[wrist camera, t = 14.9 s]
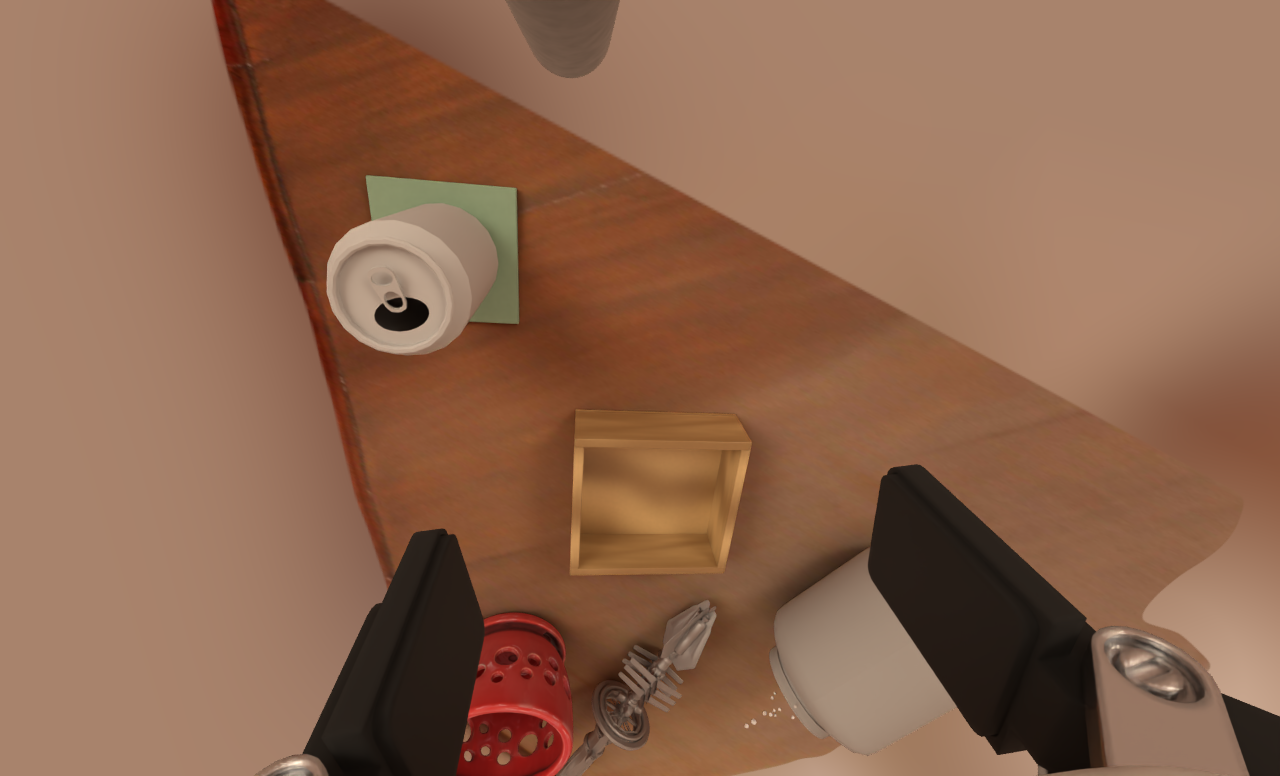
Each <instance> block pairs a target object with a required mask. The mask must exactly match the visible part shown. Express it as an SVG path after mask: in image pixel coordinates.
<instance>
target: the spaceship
mask: <svg viewBox="0 0 1280 776" xmlns="http://www.w3.org/2000/svg"><path fill="white" fill-rule="evenodd" d="M709 606H710V603H709V601H708V600H705V601H703V602H702V603H700V604H698V605H694V606H692V607H690V608H689V609H687V610H685V611H684V612H682V613H680V614H679V615H677V616H675V617H674V618H672V619H670V620H669V621H668V622H667V626H666V630H665V635H664V639H663V644H664V646H663V650H662V651H661V650H660V651H659V652H658V656H655V655H653V654H652V653H650V652H648V651H646V650H644V649H643V648H641V647H639V646H637V645H635V646H634V647H633V649H635V650H636V651H638V652H639V653H641V654H643V655H644V656H646V657H647V658H649V659H650V660H652V663H650V662H648V661H646V660H645V659H643V658H641V657H639V656H637V655H636V654H634V653H632V652H629V653H628V656H630V657H631V658H632V659H631V660H630V661H629V660H627V659H623V661H622V662H623V663H624V664H626V666H625V667H624V669H625V670H626V671H627V672H628V673H629V674H630V675H631V676H632V677H633V678H634V679H635V680H636V681H637V682H638V684H637V685H635V684H634V683H633V682H632V681H631V680H630V679H629V678H628V677H627V676H626V675H624V674H623V673H622V672H620V673H619V674H618V675H619V676H620V678H621V679H622V680H623V681H624V682H625V683H626V684H627V685H628V686H629V687H630V688H631V689H629V688H628V687H627V686H626V685H624V684H622V683H620V682H618V681H614V680H606V681H603V682H601V683H599V684H598V685H597V686H596V687H595V689H594V691H593V695H592V710H593V714H594V717H595V720H596V722H597V723H596V726H595V730H594V731H592V732H589V733H588V734H586V736H585V738H584V743H583V744H582V745H581V746H580V747H579V748H578V749H577V750H576V751H575V752H574V754H573V755H572V756H571V757H570V758H569V759H568V761H567V762H566V764H565V765H564V766H563V768H562V769H561V770H560V771H559V772H558V773H557V775H556V776H581V775H582V774H583V773H584V772H585V771H586V769H588V768H589V767H590V765H591V764H592V763H593V761H594V760H596V759H597V758H598V757H600V756H602V754H603V752H604V749H605V746H607V745H609V744H611V743H613V744H615V745H616V746H618V747H620V748H622V749H625V750H637V749H640V748H642V747H643V746H644V745H645V744H646V742H647V740H648V736H649V729H650V727H649V720H648V716H647V713H646V710H645V708H644V706H643V705H644V701H645V702H646V703H647V702H648V703H650V704H652V705H654V706H656V707H657V708H659V709H661V710H663V711H665V712H668V711H669V710H670V709H669V708H667V707H666V706H664V705H663V704H661V703H660V702H658V701H656V700H655V699H653V698H652V697H650V694H651V695H654V696H656V697H658V698H660V699H661V700H663V701H665V702H667V703H669V704H671V705H672V706H674V704H675V703H676V702H675V701H673V700H672V699H670V698H669V697H670V696H671V695H673V696H675V697H676V698H678V699H680V698H681V696H682V695H681V694H679V693H678V692H676V689H677V687H676V686H675V685H674V684H673V683H672V682H671V681H670V680H669V679H668V678H667V677H666V676H665V673H666V672H667V673H668V674H669V675H670V676H671V677H672V678H673V679H675V680H676V681H677V682H678V683H679V684H682V683H683V680H682V679H681V678H680V677H679V676H678V675H677V674H676V673H675V672H674V671H673V670H672V669H671V668H670V667H669V665H670V664H672V663H673V664H674V666H675V668H676V670H678V671H679V670H687V669H695V666H696V664H697V662H698V660H699V658H700V655H701V653H702V651H703V649H704V646H705V644H706V642H707V640H708V638H709V635H710V633H711V628H712V625H713V623H714V621H715V618H716V613H715V612H714V611H715V609H716V606H714V607H712V608H711V609H710V608H709ZM638 662H639V663H638ZM641 664H642V665H644V666H645V667H647V669H645V668H644V667H643V666H642V665H641ZM630 667H631V668H632V669H634V670H635V671H637V672H638V673H640V674H642V677H640V676H639V675H638V674H637V673H636V672H635V671H634V670H632V669H631V668H630ZM660 680H662V681H664V682H665V683H666V684H667V685H668V686H669V687H668V686H667V685H665V684H664V683H662V682H661V681H660ZM656 688H658V689H659V690H660V691H662V692H663V693H664V694H665V695H664V694H662V693H661V692H659V691H658V690H656ZM599 695H600V696H599ZM609 698H613V699H614V700H615V699H616V700H618V701H620V702H621V703H620V704H619V703H618V701H617V702H616V700H615V702H616V704H615V703H614V702H613V703H614V705H613V704H612V703H610V702H608V701H607V699H609ZM613 699H612V701H613ZM598 701H599V702H598ZM617 703H618V704H617ZM605 704H606V707H605ZM598 705H599V706H598ZM607 705H608V706H609V707H610V708H612V709H613V710H614V711H612V713H611V712H608V710H607ZM630 715H631V717H632V719H631V718H630V717H629V716H630ZM626 720H627V721H628V722H630V723H631V724H632V725H633V731H631V730H630V728H629V726H628V728H629V729H628V728H627V729H628V731H627V730H626V729H625V727H624V729H625V731H624V730H623V729H622V728H620V727H621V725H622V724H624V722H625V725H626V724H627V721H626ZM627 725H628V724H627ZM627 725H626V727H627ZM623 726H624V725H623ZM620 729H621V730H622V731H621V730H620ZM629 730H630V731H629ZM628 741H629V742H628ZM630 741H631V742H630ZM632 741H633V742H632Z"/></svg>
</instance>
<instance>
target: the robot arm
mask: <svg viewBox="0 0 1280 776" xmlns="http://www.w3.org/2000/svg"><path fill="white" fill-rule="evenodd" d="M868 571H869V575H870V577H871V580H872V581H873V583H874V584H875V586H876V587H877V589H878V590H879V592H880V593H881V595H882V596H883V598H884V599H885V601H886V602H887V604H888V605H889V607H890V608H891V610H892V611H893V613H894V614H895V616H896V617H897V619H898V620H899V622H900V623H901V624H902V626H903V627H904V629H905V630H906V632H907V633H908V635H909V636H910V638H911V639H912V641H913V642H914V644H915V645H916V647H917V648H918V650H919V651H920V653H921V654H922V656H923V657H924V659H925V660H926V662H927V663H928V665H929V666H930V668H931V669H932V670H933V672H934V673H935V675H936V676H937V678H938V679H939V681H940V682H941V684H942V685H943V687H944V688H945V690H946V691H947V693H948V694H949V696H950V697H951V699H952V700H953V702H954V703H955V705H956V706H957V708H958V709H959V711H960V712H961V713H962V715H963V717H964V718H965V719H966V721H967V722H968V724H969V725H970V727H971V728H972V729H973V731H974V732H976V733H977V734H978V735H979V736H981V737H982V736H985V737H986V739H987V740H988V742H989V743H990V745H991V746H992V747H993V749H994V750H995V752H996V753H997V755H1001V754H1006V753H1013V752H1018V751H1024V750H1027V751H1028V752H1029V754H1030V755H1031V756H1032V757H1033V759H1034V760H1035V762H1036V763H1037V764H1038V776H1280V716H1277V715H1274V714H1272V713H1269V712H1267V711H1265V710H1262V709H1260V708H1257V707H1255V706H1252V705H1250V704H1247V703H1245V702H1242V701H1240V700H1237V699H1235V698H1232V697H1229V696H1227V695H1225V694H1222V693H1221V692H1220V690H1219V688H1218V686H1217V684H1216V682H1215V681H1214V679H1213V677H1212V676H1211V675H1210V674H1209V673H1208V672H1207V670H1206V669H1205V668H1204V667H1203V666H1202V665H1201V664H1200V663H1199V662H1198V661H1196V660H1195V659H1194V658H1192V657H1191V656H1190V655H1189V654H1187V653H1186V652H1185V651H1183V650H1182V649H1180V648H1178V647H1177V646H1175V645H1173V644H1171V643H1170V642H1168V641H1166V640H1164V639H1162V638H1160V637H1157V636H1155V635H1153V634H1150V633H1148V632H1145V631H1142V630H1138V629H1134V628H1130V627H1123V626H1109V627H1105V628H1101V629H1099V630H1098V631H1097V632H1096V631H1095V630H1094V629H1093V628H1092V627H1091V626H1090V625H1089V624H1087V623H1086V622H1085V621H1086V619H1087V618H1086V617H1085V616H1084V615H1083V614H1082V613H1081V612H1079V611H1078V610H1077V609H1076V608H1075V607H1074V606H1073V605H1072V604H1071V603H1070V602H1069V601H1068V600H1067V599H1065V598H1064V597H1063V596H1062V595H1061V594H1060V593H1059V592H1058V591H1057V590H1056V589H1055V588H1054V587H1052V586H1051V585H1050V584H1049V583H1048V582H1047V581H1046V580H1045V579H1044V578H1043V577H1042V576H1041V575H1039V574H1038V573H1037V572H1036V571H1035V570H1034V569H1033V568H1032V567H1031V566H1030V565H1029V564H1028V563H1027V562H1025V561H1024V560H1023V559H1022V558H1021V557H1020V556H1019V555H1018V554H1017V553H1016V552H1015V551H1014V550H1012V549H1011V548H1010V547H1009V546H1008V545H1007V544H1006V543H1005V542H1004V541H1003V540H1002V539H1001V538H999V537H998V536H997V535H996V534H995V533H994V532H993V531H992V530H991V529H990V528H989V527H988V526H986V525H985V524H984V523H983V522H982V521H981V520H980V519H979V518H978V517H977V516H976V515H975V514H974V513H972V512H971V511H970V510H969V509H968V508H967V507H966V506H965V505H964V504H963V503H962V502H961V501H959V500H958V499H957V498H956V497H955V496H954V495H953V494H952V493H951V492H950V491H949V490H948V489H946V488H945V487H944V486H943V485H942V484H941V483H940V482H939V481H938V480H937V479H936V478H935V477H933V476H932V475H931V474H930V473H929V472H928V471H927V470H926V469H925V468H924V467H922V466H921V465H917V464H915V465H908V466H901V467H893V468H891V469H890V470H889V471H888V474H887V475H885V476H883V477H882V479H881V484H880V490H879V497H878V503H877V509H876V515H875V521H874V528H873V534H872V540H871V546H870V552H869V559H868ZM484 636H485V626H484V620H483V617H482V613H481V610H480V607H479V604H478V601H477V598H476V595H475V592H474V589H473V586H472V583H471V580H470V577H469V574H468V571H467V568H466V565H465V562H464V559H463V556H462V553H461V550H460V547H459V544H458V540H457V538H456V536H455V535H454V534H451V535H448V534H447V531H446V530H445V529H435V530H428V531H421V532H416V533H414V534H413V536H412V537H411V540H410V542H409V544H408V546H407V548H406V551H405V553H404V555H403V557H402V560H401V562H400V564H399V566H398V568H397V571H396V573H395V575H394V577H393V580H392V582H391V584H390V586H389V588H388V591H387V593H386V595H385V598H384V600H383V602H382V603H379V604H376V605H375V606H374V607H373V608H372V609H371V611H370V612H369V614H368V615H367V617H366V620H365V622H364V624H363V626H362V628H361V630H360V632H359V634H358V637H357V639H356V641H355V643H354V645H353V647H352V649H351V651H350V654H349V656H348V658H347V660H346V662H345V664H344V666H343V668H342V671H341V673H340V675H339V677H338V679H337V681H336V683H335V686H334V688H333V690H332V692H331V694H330V696H329V698H328V700H327V703H326V705H325V707H324V709H323V711H322V713H321V716H320V718H319V720H318V722H317V724H316V726H315V728H314V730H313V732H312V735H311V737H310V739H309V741H308V743H307V745H306V747H305V749H304V752H303V754H300V755H292V756H289V757H286V758H283V759H281V760H278V761H276V762H274V763H272V764H271V765H269V766H267V767H266V768H264V769H262V770H261V771H259V772H258V773H257V774H255V776H456V773H457V768H458V763H459V758H460V753H461V748H462V744H463V739H464V734H465V729H466V724H467V719H468V714H469V710H470V705H471V700H472V695H473V690H474V685H475V681H476V676H477V671H478V666H479V661H480V656H481V651H482V647H483V642H484Z"/></svg>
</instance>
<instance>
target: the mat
mask: <svg viewBox="0 0 1280 776" xmlns="http://www.w3.org/2000/svg"><path fill="white" fill-rule="evenodd" d="M366 183H367V190H368V197H369V204H370V212H371V219H372V221H373V220H376V219H380V218H383V217H386V216H389V215H392V214H395V213H398V212H401V211H404V210H407V209H411V208H414V207H417V206H420V205H423V204H434V203H444V204H447V205H451V206H455V207H458V208H461V209H463V210H464V211H466V212H467V213H469V214H471V215H472V216H474V217H475V218H477V220H478V221H479V222H480V223H481V224H482V225H483V226H484V227H485V228H486V230H487V231H488V232H489V234H490V236H491V238H492V240H493V242H494V244H495V246H496V251H497V257H498V270H497V276H496V280H495V282H494V284H493V285H492V287H491V289H490V291H489V293H488V294H487V296H486V297H485V298H484V300H483V301H482V303H481V304H480V306H479V307H478V309H477V310H476V312H475V313H474V315H473V316H472V318H471V319H470V320H469V322H489V323H508V324H519V281H518V224H517V188H510V187H499V186H487V185H475V184H464V183H452V182H441V181H429V180H417V179H406V178H394V177H383V176H371V175H367V176H366Z"/></svg>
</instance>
